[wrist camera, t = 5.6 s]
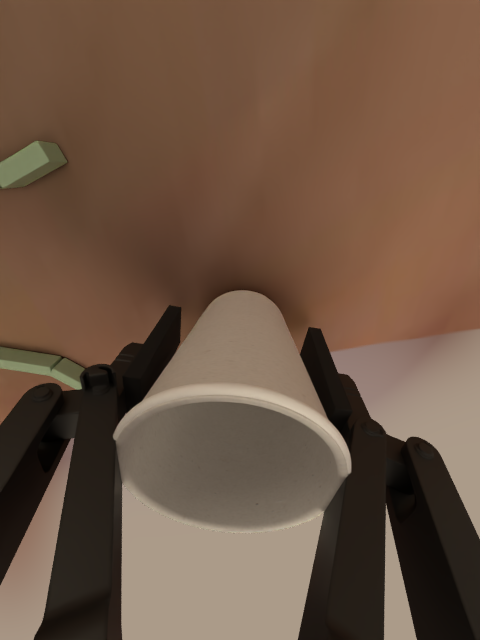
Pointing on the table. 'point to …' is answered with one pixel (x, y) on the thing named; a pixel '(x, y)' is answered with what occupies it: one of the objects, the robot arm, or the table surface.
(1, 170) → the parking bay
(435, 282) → the table surface
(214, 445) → the dixie cup
